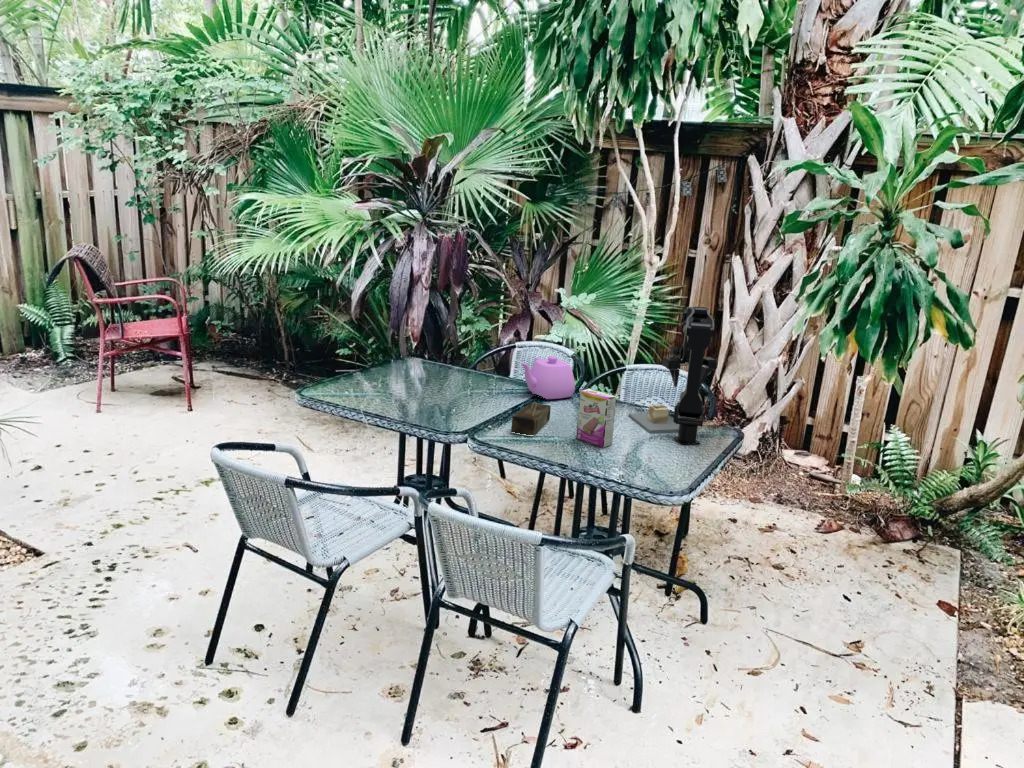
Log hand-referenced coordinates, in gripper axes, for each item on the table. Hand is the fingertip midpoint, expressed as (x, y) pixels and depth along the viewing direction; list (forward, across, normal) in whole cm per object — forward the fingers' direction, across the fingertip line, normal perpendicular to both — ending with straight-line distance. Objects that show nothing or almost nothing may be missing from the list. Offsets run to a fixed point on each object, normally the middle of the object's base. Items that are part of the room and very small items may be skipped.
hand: (687, 386), depth 266 cm
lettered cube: (+11, +12, +4) cm, 17 cm away
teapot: (+12, +40, -33) cm, 53 cm away
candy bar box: (+12, +41, +19) cm, 47 cm away
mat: (+12, +12, +4) cm, 17 cm away
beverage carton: (+12, +57, +2) cm, 59 cm away
